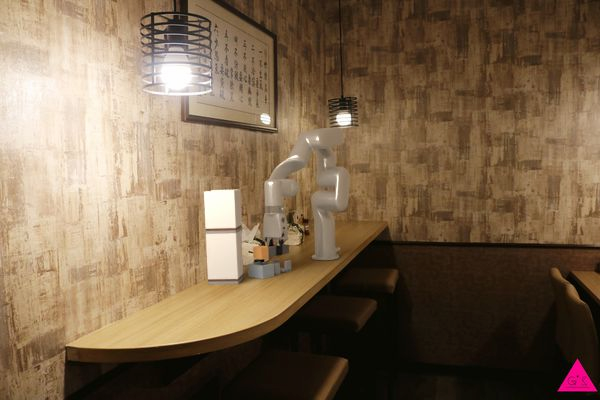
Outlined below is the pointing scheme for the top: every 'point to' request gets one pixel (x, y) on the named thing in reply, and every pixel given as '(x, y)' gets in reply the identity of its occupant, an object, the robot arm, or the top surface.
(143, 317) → the top surface
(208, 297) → the top surface
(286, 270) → the clip
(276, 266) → the clip
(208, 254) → the white banded pillar
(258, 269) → the end holder
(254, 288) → the top surface
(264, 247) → the orange and grey bar
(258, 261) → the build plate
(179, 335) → the top surface
